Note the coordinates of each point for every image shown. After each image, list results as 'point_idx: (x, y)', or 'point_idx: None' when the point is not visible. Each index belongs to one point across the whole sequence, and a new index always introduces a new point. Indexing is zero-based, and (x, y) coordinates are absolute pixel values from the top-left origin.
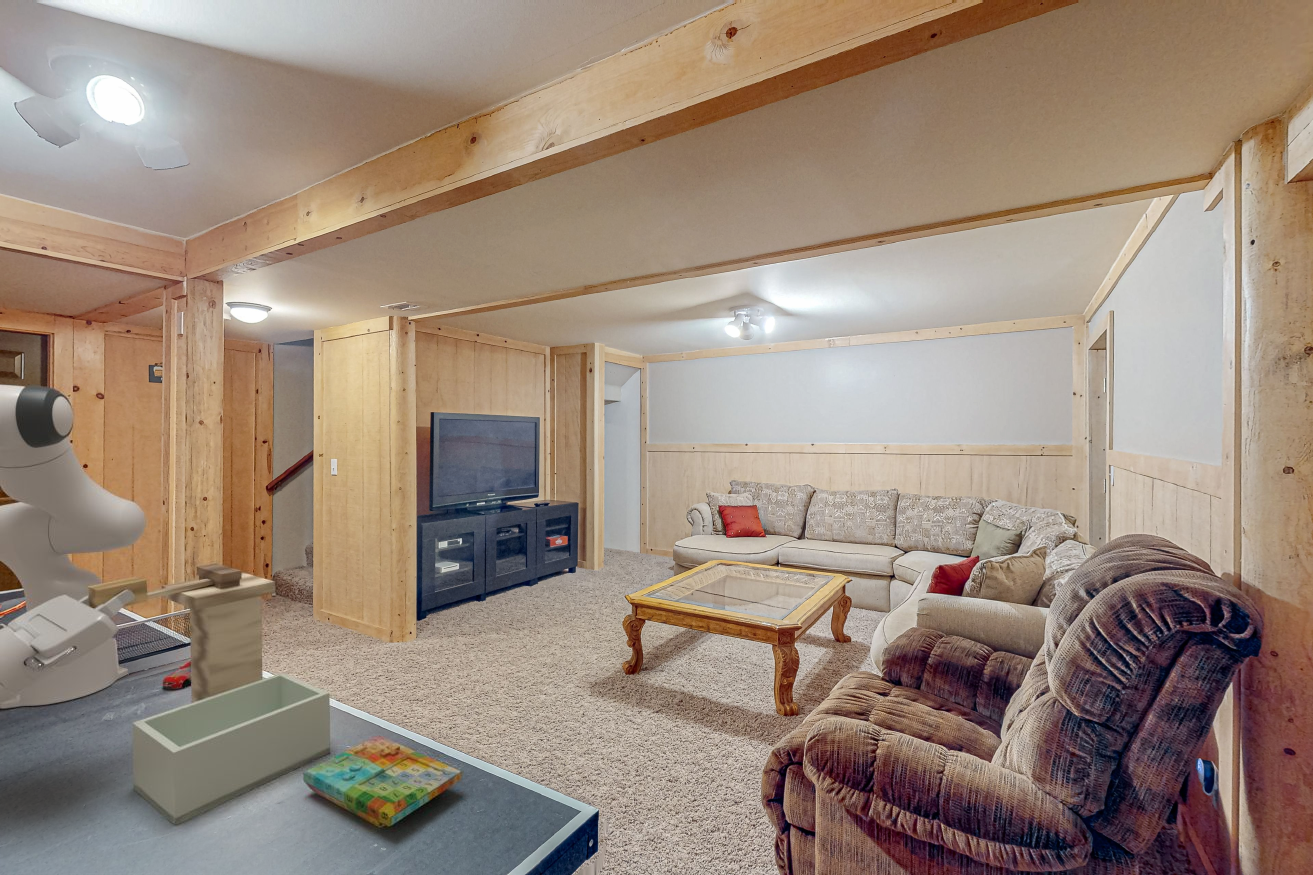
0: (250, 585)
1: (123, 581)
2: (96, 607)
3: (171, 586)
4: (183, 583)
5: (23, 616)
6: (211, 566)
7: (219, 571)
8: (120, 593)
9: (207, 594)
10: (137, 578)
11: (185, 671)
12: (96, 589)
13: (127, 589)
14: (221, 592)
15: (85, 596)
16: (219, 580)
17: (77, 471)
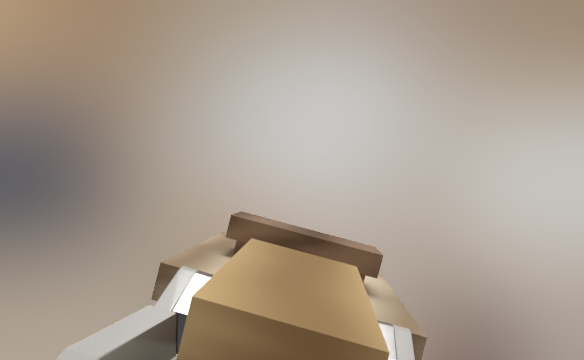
0: (377, 284)
1: (291, 267)
2: None
3: (201, 269)
4: (203, 259)
5: None
6: (264, 220)
7: (342, 243)
8: (403, 353)
9: (399, 317)
10: (291, 252)
11: None
12: (360, 341)
13: (385, 322)
14: (402, 309)
15: (66, 353)
16: (363, 270)
17: None
